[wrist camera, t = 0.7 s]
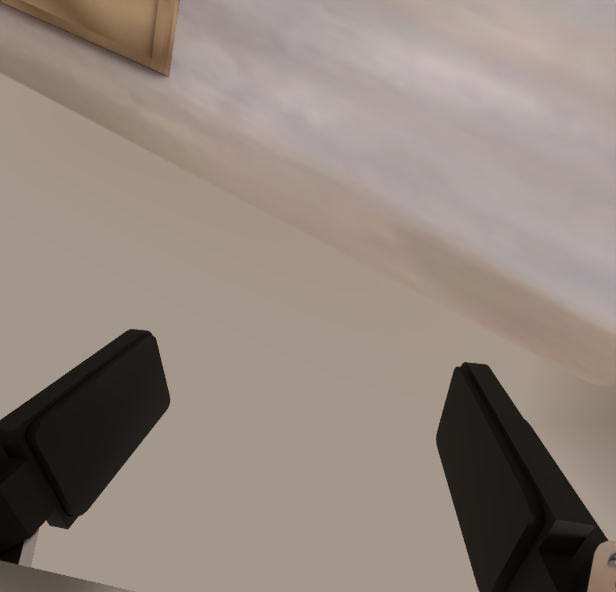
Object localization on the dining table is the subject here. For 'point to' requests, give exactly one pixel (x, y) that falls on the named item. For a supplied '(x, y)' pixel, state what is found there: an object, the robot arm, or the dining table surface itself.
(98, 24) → the walnut tray
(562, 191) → the dining table surface
